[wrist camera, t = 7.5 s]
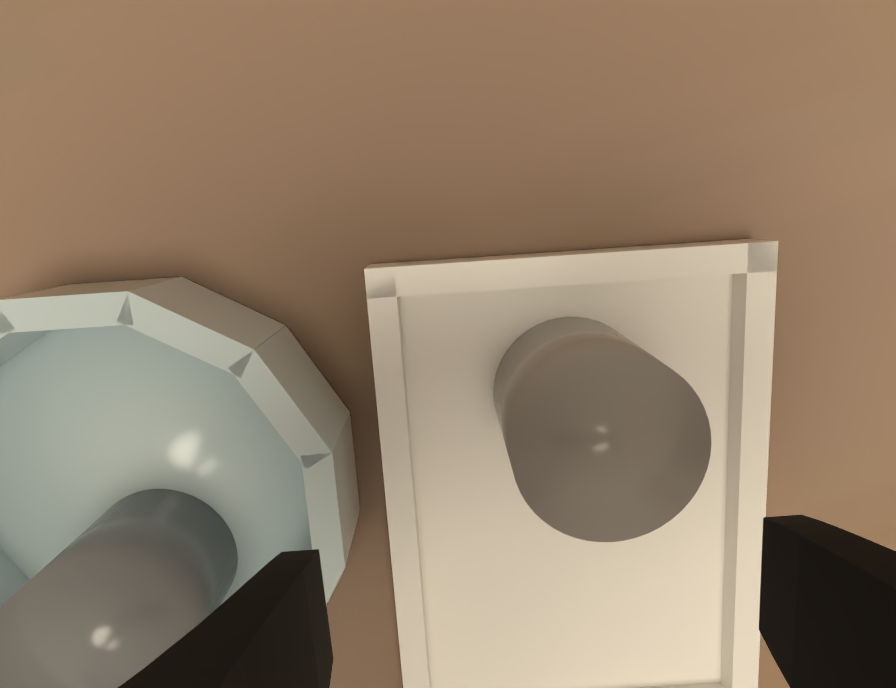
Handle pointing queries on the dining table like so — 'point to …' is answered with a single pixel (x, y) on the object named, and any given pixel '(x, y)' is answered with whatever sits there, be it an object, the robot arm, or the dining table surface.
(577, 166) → the dining table surface
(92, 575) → the slate capsule
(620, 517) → the grey rounded cylinder
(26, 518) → the bowl
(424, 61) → the dining table surface
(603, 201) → the dining table surface
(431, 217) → the dining table surface
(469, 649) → the parts tray
